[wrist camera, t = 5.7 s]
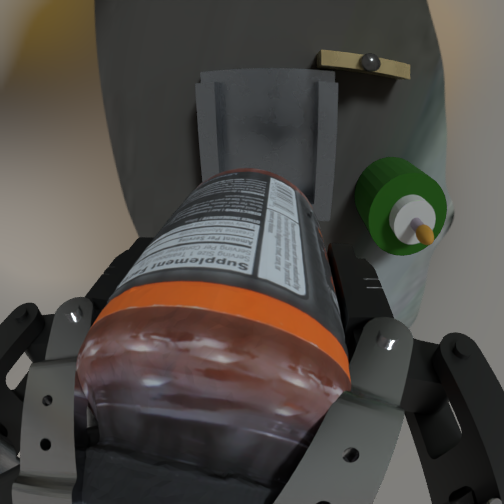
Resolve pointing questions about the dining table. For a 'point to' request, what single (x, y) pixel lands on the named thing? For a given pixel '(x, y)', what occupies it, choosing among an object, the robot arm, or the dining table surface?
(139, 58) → the dining table surface
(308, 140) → the dock
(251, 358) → the supplement bottle
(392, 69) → the bar
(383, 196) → the candle
